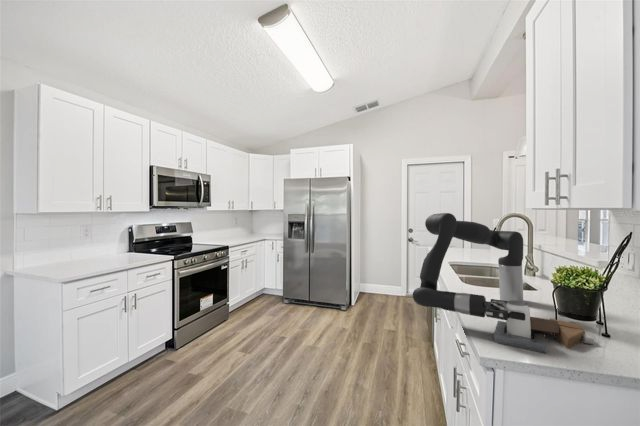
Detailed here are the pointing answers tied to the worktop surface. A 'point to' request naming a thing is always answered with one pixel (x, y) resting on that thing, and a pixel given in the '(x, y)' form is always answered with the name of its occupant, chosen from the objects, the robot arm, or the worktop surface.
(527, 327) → the can
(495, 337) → the gray square frame plate
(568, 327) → the wooden blocks
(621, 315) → the worktop surface
